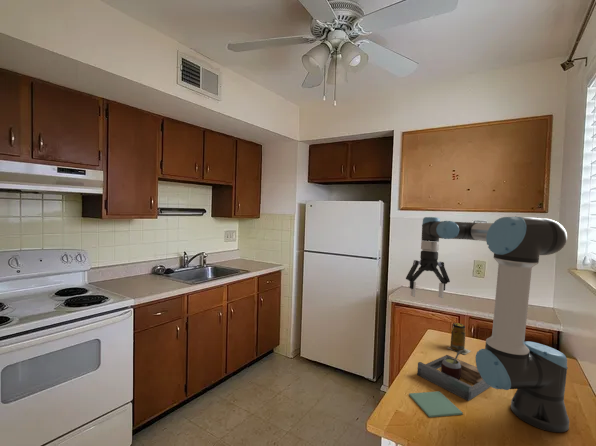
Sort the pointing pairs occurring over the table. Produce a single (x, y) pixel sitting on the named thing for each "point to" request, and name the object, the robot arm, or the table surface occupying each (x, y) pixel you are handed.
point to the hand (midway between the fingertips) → (426, 296)
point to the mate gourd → (452, 367)
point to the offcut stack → (469, 372)
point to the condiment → (458, 338)
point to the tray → (449, 380)
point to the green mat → (435, 404)
